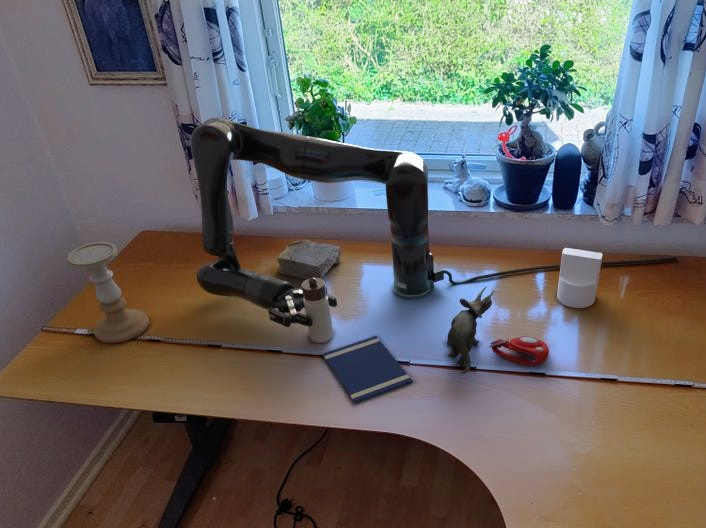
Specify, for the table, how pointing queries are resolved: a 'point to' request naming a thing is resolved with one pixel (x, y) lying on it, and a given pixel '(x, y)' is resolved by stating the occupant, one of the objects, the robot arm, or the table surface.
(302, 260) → the geological specimen
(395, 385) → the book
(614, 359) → the table surface
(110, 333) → the candle holder
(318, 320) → the pepper mill
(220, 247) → the robot arm
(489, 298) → the toy dinosaur
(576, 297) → the cylinder with rectangular tab
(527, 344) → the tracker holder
